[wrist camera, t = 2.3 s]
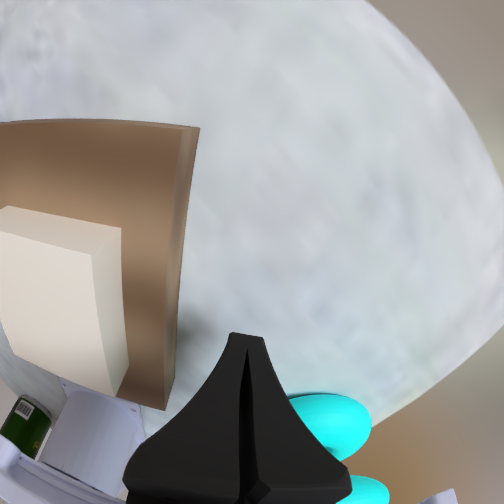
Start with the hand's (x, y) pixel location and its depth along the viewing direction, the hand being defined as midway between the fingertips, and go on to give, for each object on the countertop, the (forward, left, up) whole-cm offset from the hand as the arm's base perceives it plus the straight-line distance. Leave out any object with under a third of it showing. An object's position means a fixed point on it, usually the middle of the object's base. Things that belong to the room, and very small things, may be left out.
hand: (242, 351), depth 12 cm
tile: (0, +9, -1) cm, 9 cm away
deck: (0, +10, -4) cm, 10 cm away
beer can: (-24, +23, -4) cm, 34 cm away
